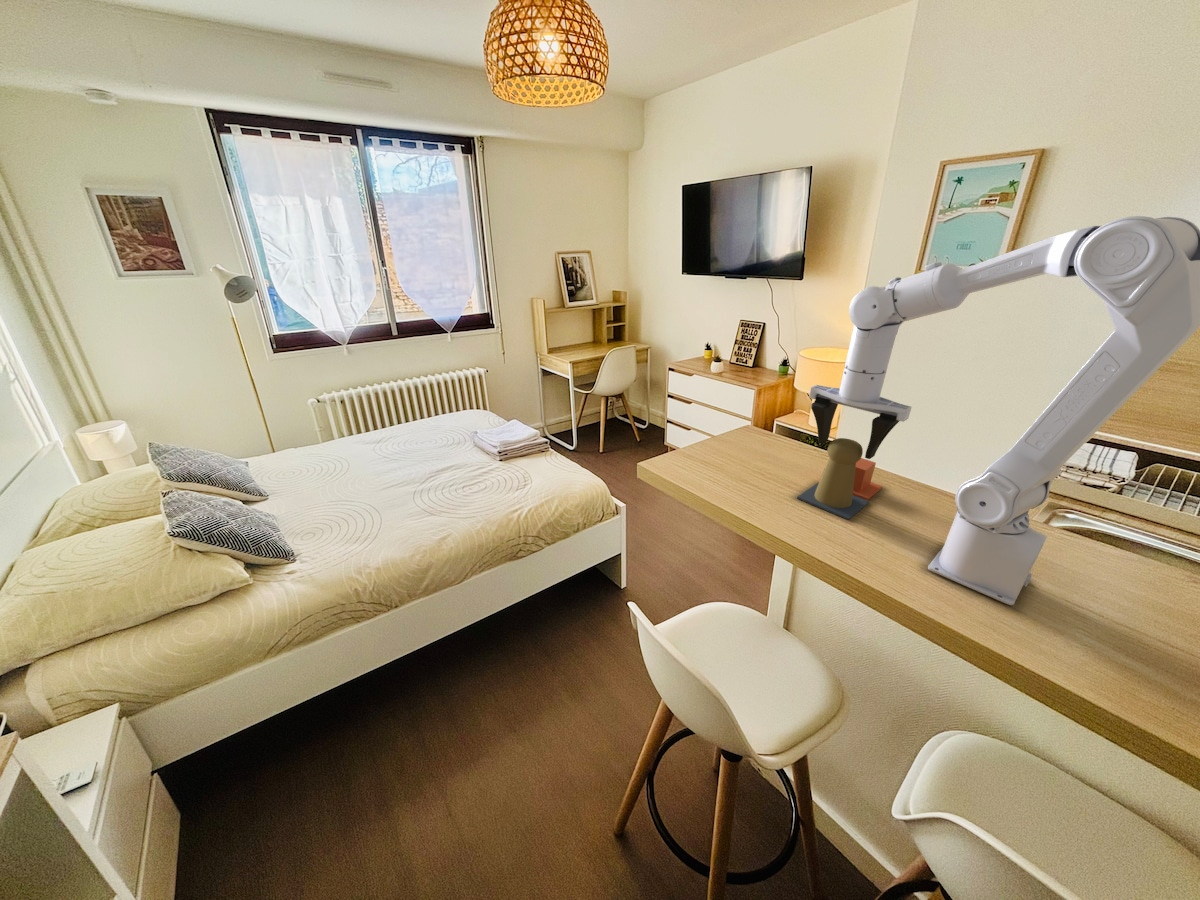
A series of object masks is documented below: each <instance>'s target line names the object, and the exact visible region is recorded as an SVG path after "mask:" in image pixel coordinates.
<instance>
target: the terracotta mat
mask: <svg viewBox="0 0 1200 900" xmlns="http://www.w3.org/2000/svg"><path fill="white" fill-rule="evenodd" d="M882 489H883V486H882V485H880V484H877V483H874V482H872V481H871V482H870V485H868V486H867V487H866V488H865V489H863V490H862V491H861V492H857V491H854V490H853V495H854V496H857V497H860V498H862V499H865V500H868V501H870V499H872V498H873V497H874V495H876V494H877V493H878V492H880V490H882Z"/></svg>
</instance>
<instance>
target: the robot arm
mask: <svg viewBox="0 0 1200 900" xmlns="http://www.w3.org/2000/svg"><path fill="white" fill-rule="evenodd" d="M1043 275H1050V276H1055V277H1060V278H1071V277H1072V278H1073V277H1078V278H1079V280H1080V281H1081V282H1082V283H1083V284H1084V286H1086V287H1087V288H1088V289H1089V290H1091V291H1092V292H1093V293H1094V294H1095V295H1096V296H1097V297H1098V298H1100V299H1101V300H1102V301H1103V304H1104V305H1105V308H1106V309H1107V312H1108V315H1109V317H1110V320H1111V322H1112V324H1113V327H1114V329H1113V331H1112V332H1111V334H1110V335H1108V337H1107V338H1106V339H1105V340H1104V341H1103V342H1102V343H1101V345H1100V346H1098V348H1097V349H1096V351H1095V352H1094V353H1093V354H1092V355H1091V356H1090V357H1089V358H1088V360H1086V362H1085V363H1084V364H1083V365H1082V366H1081V368H1080V369H1079V370H1078V371H1077V372H1076V373H1075V375H1073V376H1072V378H1071V379H1070V380H1069V381H1068V382H1067V384H1066V385H1065V386H1064V387H1062V389H1061V391H1060V392H1059V393H1058V394H1057V395H1056V396H1055V397H1054V398H1053V399H1052V401H1051V402H1050V403H1049V404H1048V405H1047V407H1046V408H1044V410H1043V411H1042V412H1041V413H1040V414H1039V415H1038V417H1037V418H1036V419H1035V420H1034V421H1033V422H1032V423H1031V424H1030V426H1028V428H1027V429H1026V430H1025V432H1024V433H1023V434H1022V435H1021V436H1020V437H1019V438H1018V439H1017V441H1016V442H1015V443H1014V444H1013V445H1012V446H1011V448H1010V449H1008V451H1006V452H1005V453H1004V454H1003V455H1001V456H1000V457H999V458H998V459H996V460H994V462H993V463H991V464H990V465H989V466H988V467H987V468H986V469H985V470H984V471H983V473H981V474H980V475H978V476H976V477H973V478H971V479H969V480H966V481H964V482H963V483H962V484H960V485H959V487H958V488H957V490H956V493H955V498H954V499H955V505H956V508H957V511H956V513H955V516H954V517H953V518H954V519H953V521H952V523H951V526H950V528H949V530H948V531H949V532H948V534H947V537H946V539H945V542H944V545H943V546H942V547H941V549H940V550H939V551H938V552H937V554H936V555H935V556H934V558H933V559H932V561H931V562H929V564H928V566H927V570H929V571H931V572H932V573H935V574H937V575H939V576H942V577H944V578H946V579H948V580H951V581H953V582H955V583H957V584H960V585H962V586H965V587H967V588H969V589H970V590H971V589H972V590H973V591H976V592H978V593H981V594H983V595H985V596H987V597H989V598H991V599H994V600H996V601H999V602H1001V603H1004V604H1006V605H1008V606H1014V605H1015V603H1016V600H1017V599H1018V597H1019V595H1020V593H1021V591H1022V589H1023V587H1025V588H1026V587H1028V585H1029V583H1030V580H1031V579H1032V577H1033V573H1031V570H1032V568H1033V567H1034V565H1035V563H1036V561H1037V559H1038V557H1039V554H1040V552H1041V551H1042V549H1043V546H1044V544H1045V542H1046V540H1047V538H1048V536H1047V535H1046V534H1043V533H1041V532H1039V531H1037V530H1035V529H1033V528H1031V527H1030V515H1029V512H1030V510H1033V509H1036V508H1038V507H1040V506H1042V505H1043V504H1044V503H1045V502H1046V501H1047V499H1048V497H1049V495H1050V490H1051V489H1050V488H1051V485H1052V483H1053V481H1054V480H1055V479H1056V478H1057V477H1058V476H1059V475H1060V473H1061V469H1062V467H1063V465H1065V464H1066V463H1067V462H1068V461H1069V459H1071V457H1073V456H1074V454H1075V453H1077V451H1079V450H1080V449H1081V447H1082V446H1084V445H1085V444H1086V443H1087V441H1089V440H1090V439H1091V437H1092V436H1094V435H1095V433H1097V432H1098V430H1100V429H1101V428H1102V427H1103V426H1104V424H1106V423H1107V422H1108V421H1109V420H1110V419H1111V417H1113V415H1114V414H1115V413H1117V411H1119V410H1120V409H1121V407H1122V406H1124V404H1126V402H1127V401H1129V400H1130V398H1131V397H1132V396H1133V395H1135V393H1137V391H1138V390H1139V389H1140V388H1141V387H1142V386H1143V385H1144V384H1145V383H1146V382H1148V380H1149V379H1151V377H1152V376H1153V375H1154V374H1156V372H1158V370H1159V369H1160V368H1162V366H1163V365H1164V364H1166V362H1167V361H1168V360H1169V359H1171V357H1172V356H1173V355H1174V354H1175V353H1176V352H1177V351H1178V350H1179V349H1180V348H1181V347H1182V346H1184V344H1185V343H1186V342H1187V341H1189V340H1190V338H1191V337H1192V336H1193V335H1194V334H1195V333H1196V332H1197V331H1198V329H1199V328H1200V228H1199V227H1198V226H1197V225H1196V224H1195V223H1193V222H1192V221H1190V220H1189V219H1185V218H1182V217H1176V216H1164V217H1163V216H1162V217H1150V216H1145V215H1133V216H1125V217H1121V218H1117V219H1114V220H1112V221H1109V222H1107V223H1105V224H1103V225H1092V226H1087V227H1081V228H1077V229H1073V230H1071V231H1066V232H1063V233H1060V234H1056V235H1053V236H1050V237H1047V238H1045V239H1042V240H1040V241H1037V242H1033V243H1031V244H1028V245H1025V246H1022V247H1020V248H1017V249H1013V250H1012V251H1009V252H1005V253H1003V254H1001V255H998V256H995V257H992V258H990V259H986V260H984V261H981V262H979V263H975V264H972V265H969V266H967V267H964V268H962V267H959V266H958V265H956V264H953V263H950V262H949V263H945V264H942V262H941V261H940V262H939V261H938V262H933V263H930V264H926V265H925V267H924V270H923V271H922V272H918V273H916V274H913V275H909V276H907V277H904V278H902V277H900V276H897V277H893V278H891V279H889V281H888V284H887V285H886V286H874V285H871V286H866V287H865V288H864V289H863V290H860V291H859V292H857V294H855V296H854V297H853V298H852V300H851V301H850V304H849V307H848V315H849V319H850V321H851V322H852V324H853V328H852V332H851V335H850V336H851V337H850V342H849V346H848V350H847V354H846V358H845V364H844V369H843V373H842V377H841V382H840V385H839V387H832V386H824V385H820V384H816V385H813V386H811V387H810V389H809V396H808V399H811V400H814V401H813V402H812V403H811V404H810V407H811V411H812V413H813V415H814V419H815V423H816V428H817V439H818V440H817V443H818V444H819V445H820V444H821V445H823V444H825V443H826V442H828V440H829V437H830V434H831V428H832V424H833V419H834V417H835V413H836V411H837V409H838V406H839V405H841V406H845V407H849V408H852V409H857V410H861V411H865V412H869V413H873V414H877V415H878V416H876V417H874V418H873V419H872V421H871V432H870V438H869V442H868V445H867V448H866V450H865V454H864V459H866V460H871V459H873V458H874V457H875V455H876V453H877V451H878V449H879V448H880V446H881V445H882V443H883V441H884V440H885V439H886V437H887V436H888V435H889V434H890V432H891V431H892V430H893V429H894V428H895V427H896V425H897V424H899V423H900V422H902V423H904V422H905V421H907V420H908V419H909V418H910V414H911V411H912V408H913V406H911V405H907V404H903V403H900V402H897V401H894V400H891V399H889V398H885V397H883V396H881V393H882V389H883V386H884V383H885V379H886V374H887V371H888V367H889V363H890V360H891V356H892V353H893V349H894V345H895V342H896V341H895V340H896V337H897V335H898V333H899V329H900V327H901V325H902V324H904V323H905V322H908V321H911V320H915V319H920V318H923V317H928V316H931V315H934V314H938V313H942V312H946V311H950V310H954V309H957V308H959V306H961V305H962V304H963V302H964V301H965V300H966V299H967V297H968V296H969V295H971V294H972V293H977V292H982V291H985V290H988V289H992V288H997V287H1000V286H1003V285H1008V284H1012V283H1016V282H1020V281H1023V280H1027V279H1032V278H1036V277H1039V276H1043Z"/></svg>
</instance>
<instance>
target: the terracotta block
mask: <svg viewBox="0 0 1200 900" xmlns="http://www.w3.org/2000/svg"><path fill="white" fill-rule="evenodd" d="M876 465H877V462H876V461H872V460H870V459H867V458H863V457H861V459H860V460H859V461H858V462H856V468H855V478H854V488H853V490H854V491H857V492H861V491H862V490H863V489H865V488H866V487H867V486H868V485H870V482H871V483H872V479H873V476H874V475H873V474H874V471H875V468H876Z"/></svg>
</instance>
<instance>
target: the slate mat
mask: <svg viewBox="0 0 1200 900" xmlns="http://www.w3.org/2000/svg"><path fill="white" fill-rule="evenodd" d="M819 482H820V481H818V482H817V483H815V484H813V485H812V486H811V487H809V488H807V489H806V490H804V491H803V492H802V493H800V494H799V495H798V496H797V497H796V500H799V501H802V502H804V503H806V504H809V505H811V506H814V507H816V508H818V509H821V510H823V511H826V512H828V513H831V514H833V515H835V516H838V517H841V518H843V519H845V520H848V521H849V520H850V519H852V518H853V517H854V516H856V515H857V514H858V513H859V512H860V511H862V510H863V508H865V507H866V506H867V505H868V504H870V500H866V499H863V498H861V497H858V496H855V495H853V497H852V504H851V505H850V506H849V507H846V508H835V507H831V506H827V505H825V504H822V503H821V502H819V501H818V500H817V499H816V498H815V496H814V495H815V492H816V489H817V487H818V484H819Z"/></svg>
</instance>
